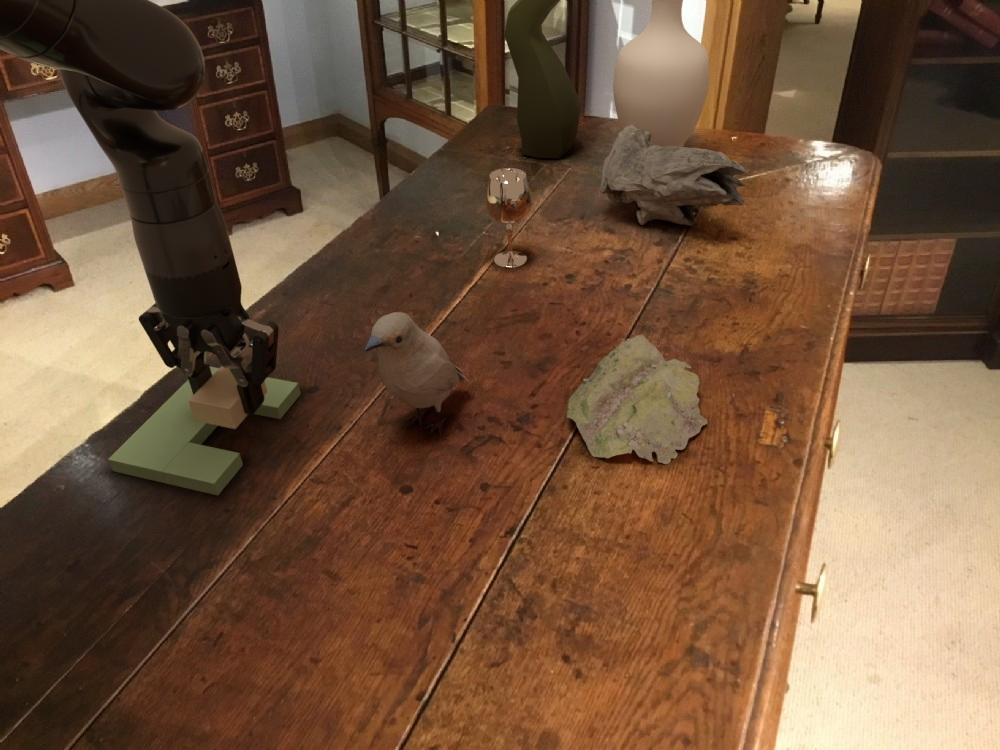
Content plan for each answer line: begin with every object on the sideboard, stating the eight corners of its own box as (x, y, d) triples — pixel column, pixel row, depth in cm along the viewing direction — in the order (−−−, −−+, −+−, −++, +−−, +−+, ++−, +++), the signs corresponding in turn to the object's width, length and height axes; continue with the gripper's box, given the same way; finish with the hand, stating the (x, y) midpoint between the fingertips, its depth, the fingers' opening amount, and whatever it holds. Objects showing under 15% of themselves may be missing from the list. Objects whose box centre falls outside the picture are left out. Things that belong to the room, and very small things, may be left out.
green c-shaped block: (218, 495, 80) (214, 483, 79) (112, 471, 83) (107, 459, 82) (301, 394, 92) (298, 382, 91) (206, 376, 95) (202, 365, 94)
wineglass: (517, 274, 111) (514, 188, 104) (480, 263, 114) (476, 179, 106) (539, 255, 115) (539, 171, 108) (504, 245, 118) (501, 163, 110)
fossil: (724, 278, 119) (788, 187, 111) (618, 244, 112) (679, 143, 104) (674, 206, 134) (727, 120, 126) (578, 171, 127) (628, 78, 119)
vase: (597, 152, 142) (604, -30, 125) (678, 141, 145) (695, -38, 128) (628, 187, 131) (640, -8, 114) (714, 175, 133) (739, -17, 117)
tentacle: (570, 164, 139) (573, -36, 121) (499, 156, 142) (492, -40, 124) (585, 144, 145) (590, -49, 127) (518, 136, 149) (513, -52, 131)
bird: (363, 453, 84) (341, 327, 75) (446, 383, 93) (435, 262, 84) (401, 472, 82) (383, 344, 73) (483, 398, 91) (475, 275, 82)
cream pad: (235, 429, 82) (229, 408, 80) (194, 421, 83) (187, 400, 81) (267, 392, 86) (262, 371, 85) (228, 384, 87) (222, 364, 86)
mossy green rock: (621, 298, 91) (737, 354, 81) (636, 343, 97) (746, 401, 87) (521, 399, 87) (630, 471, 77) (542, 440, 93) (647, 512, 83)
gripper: (90, 263, 73) (147, 415, 84) (234, 285, 69) (275, 442, 80) (145, 223, 79) (192, 371, 89) (281, 242, 75) (313, 394, 85)
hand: (231, 404), depth 84 cm, fingers closed on cream pad, 4 cm apart
